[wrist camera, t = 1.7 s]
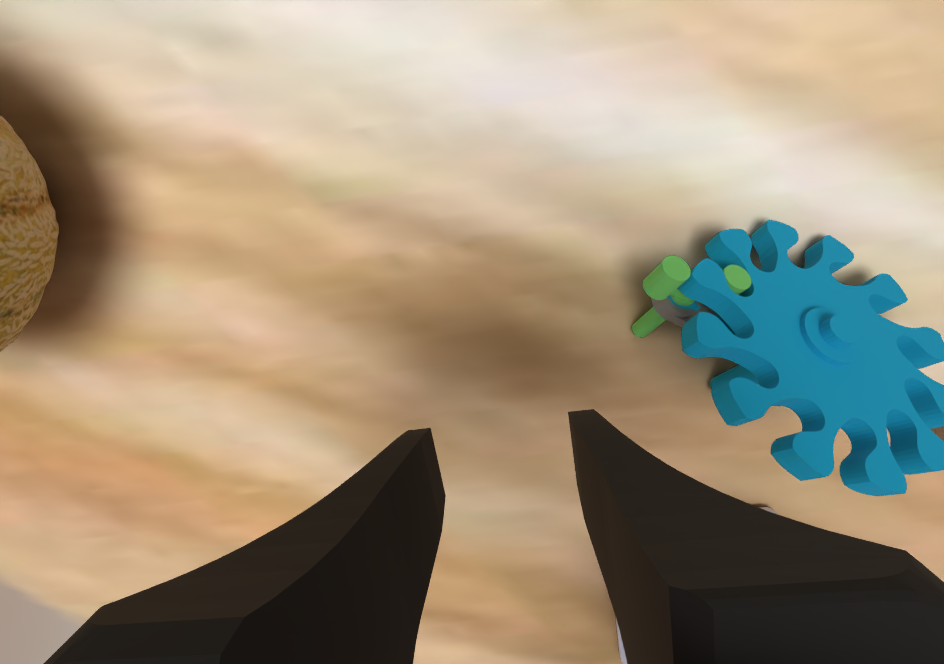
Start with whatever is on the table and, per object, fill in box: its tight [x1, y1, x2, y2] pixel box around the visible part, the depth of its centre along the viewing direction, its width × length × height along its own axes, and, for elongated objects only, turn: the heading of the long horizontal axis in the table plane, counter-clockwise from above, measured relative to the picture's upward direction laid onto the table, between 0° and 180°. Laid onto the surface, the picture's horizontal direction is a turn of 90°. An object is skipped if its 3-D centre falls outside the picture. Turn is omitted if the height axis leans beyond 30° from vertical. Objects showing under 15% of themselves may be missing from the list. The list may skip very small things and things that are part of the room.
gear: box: [632, 220, 944, 496], centre depth 17 cm, size 11×6×10 cm
